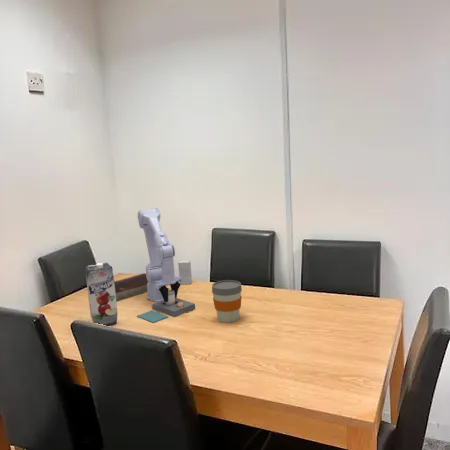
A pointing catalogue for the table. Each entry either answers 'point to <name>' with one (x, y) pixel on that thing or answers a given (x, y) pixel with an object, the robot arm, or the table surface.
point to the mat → (152, 316)
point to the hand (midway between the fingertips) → (170, 299)
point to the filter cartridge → (171, 298)
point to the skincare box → (185, 272)
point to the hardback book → (130, 286)
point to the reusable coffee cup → (227, 299)
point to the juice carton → (101, 293)
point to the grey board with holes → (173, 307)
